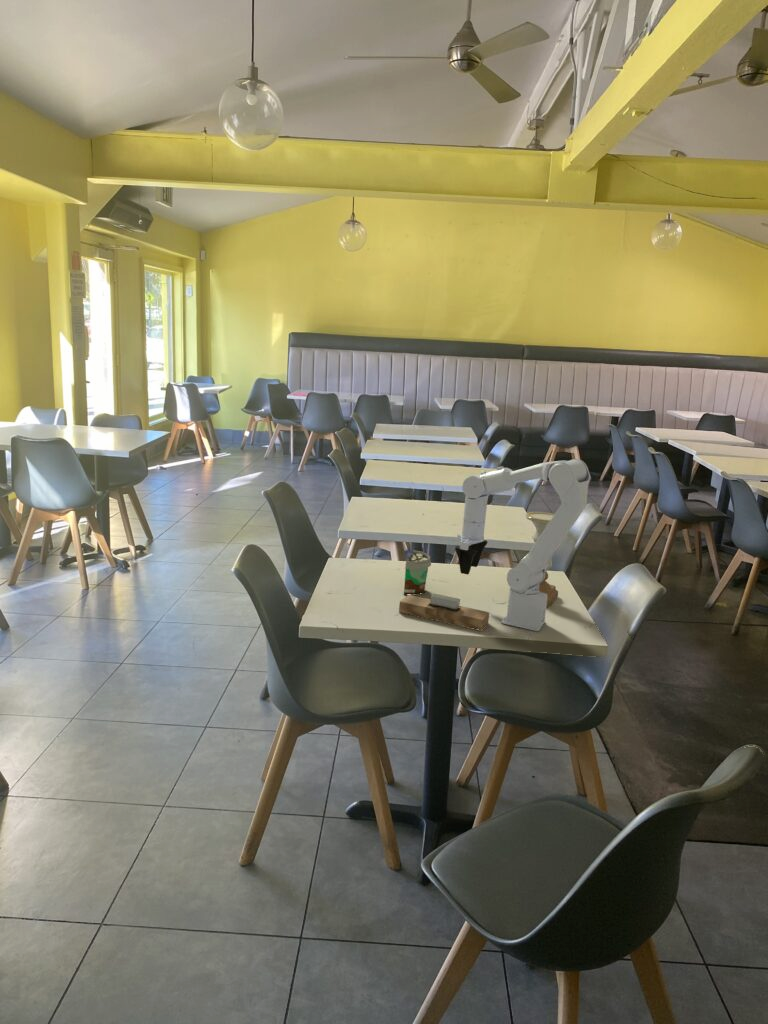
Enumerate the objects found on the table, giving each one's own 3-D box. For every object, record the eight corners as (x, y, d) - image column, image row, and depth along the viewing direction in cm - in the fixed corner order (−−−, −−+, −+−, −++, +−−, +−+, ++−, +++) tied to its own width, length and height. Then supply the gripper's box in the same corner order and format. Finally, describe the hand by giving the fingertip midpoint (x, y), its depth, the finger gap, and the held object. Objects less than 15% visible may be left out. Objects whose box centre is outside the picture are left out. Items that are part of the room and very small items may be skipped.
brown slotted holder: (488, 623, 183) (489, 612, 183) (481, 631, 178) (482, 619, 177) (407, 605, 192) (408, 594, 191) (398, 612, 186) (399, 601, 185)
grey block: (458, 619, 184) (460, 598, 183) (454, 622, 182) (456, 601, 181) (432, 613, 187) (434, 593, 186) (428, 616, 185) (430, 596, 184)
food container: (425, 599, 197) (428, 564, 195) (402, 596, 198) (405, 561, 196) (431, 585, 209) (434, 552, 207) (410, 582, 210) (413, 549, 208)
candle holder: (509, 598, 202) (519, 516, 197) (521, 588, 212) (531, 509, 206) (548, 607, 198) (559, 523, 192) (558, 596, 207) (569, 515, 202)
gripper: (467, 512, 198) (462, 560, 201) (450, 523, 185) (445, 574, 188) (492, 516, 195) (487, 565, 198) (477, 527, 182) (472, 579, 185)
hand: (469, 569), depth 193 cm, fingers open, 7 cm apart
